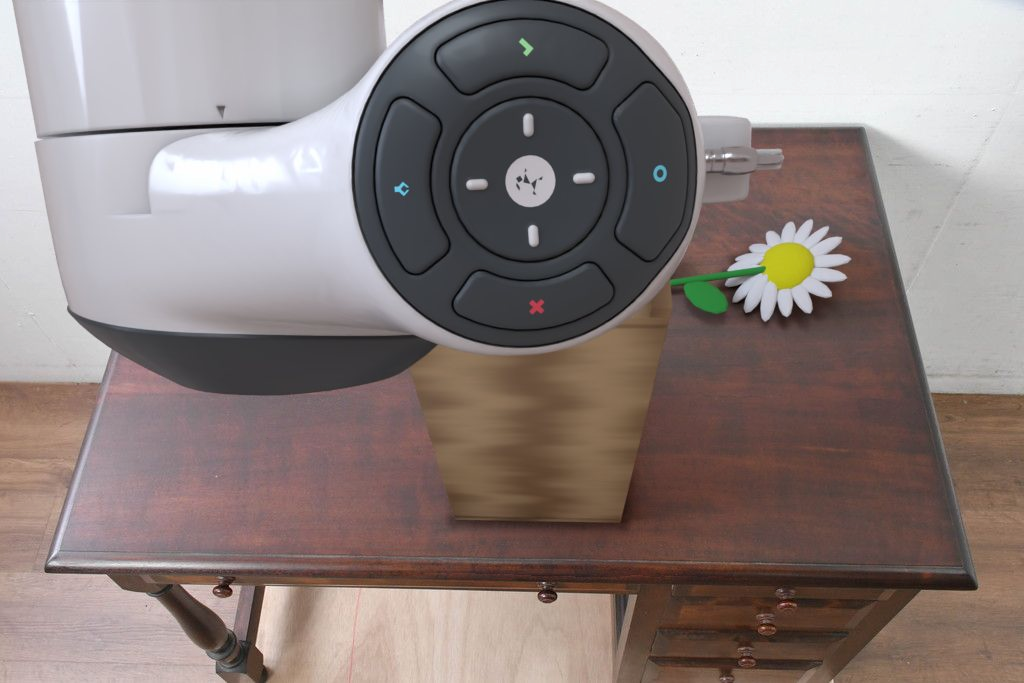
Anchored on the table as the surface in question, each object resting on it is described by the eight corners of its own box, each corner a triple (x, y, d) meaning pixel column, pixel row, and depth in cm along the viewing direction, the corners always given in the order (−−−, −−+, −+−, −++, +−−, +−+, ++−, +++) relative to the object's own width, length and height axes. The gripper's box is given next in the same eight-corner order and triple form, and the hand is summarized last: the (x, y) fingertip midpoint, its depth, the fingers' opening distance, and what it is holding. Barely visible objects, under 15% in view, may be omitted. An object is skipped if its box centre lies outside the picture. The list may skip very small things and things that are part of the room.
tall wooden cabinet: (454, 519, 77) (390, 306, 45) (462, 408, 83) (410, 153, 52) (620, 522, 76) (672, 308, 45) (615, 410, 82) (659, 152, 51)
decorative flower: (577, 358, 88) (856, 320, 85) (572, 334, 84) (864, 293, 81) (567, 270, 96) (824, 232, 92) (562, 244, 92) (830, 202, 88)
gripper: (803, 73, 30) (718, 97, 43) (265, 90, 31) (346, 109, 44) (794, 241, 31) (715, 214, 45) (281, 254, 32) (354, 224, 45)
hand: (529, 162), depth 44 cm, fingers closed on wolf head, 7 cm apart
